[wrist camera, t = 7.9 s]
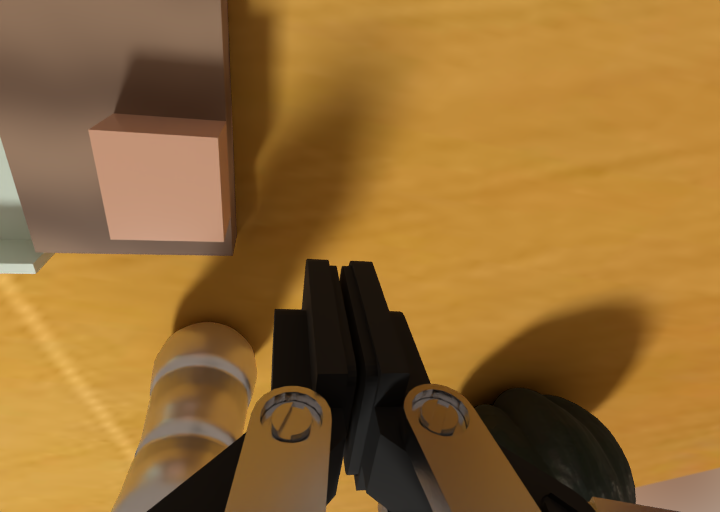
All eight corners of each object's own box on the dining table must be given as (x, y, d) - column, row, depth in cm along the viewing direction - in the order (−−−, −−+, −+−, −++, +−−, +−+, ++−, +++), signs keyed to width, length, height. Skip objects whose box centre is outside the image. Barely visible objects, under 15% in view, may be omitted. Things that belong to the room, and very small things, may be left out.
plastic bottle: (232, 296, 29) (153, 724, 12) (274, 363, 32) (261, 767, 15) (143, 328, 29) (-60, 794, 12) (195, 391, 33) (95, 820, 15)
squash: (391, 465, 32) (513, 695, 27) (571, 361, 30) (737, 589, 25) (419, 429, 45) (505, 579, 40) (545, 355, 43) (650, 504, 38)
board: (-60, -203, 16) (-114, -236, 14) (221, -153, 18) (212, -174, 16) (57, 230, 25) (35, 252, 23) (236, 235, 27) (232, 255, 24)
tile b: (113, 113, 20) (88, 129, 17) (226, 121, 21) (217, 138, 18) (130, 212, 22) (110, 239, 20) (230, 215, 23) (223, 242, 21)
